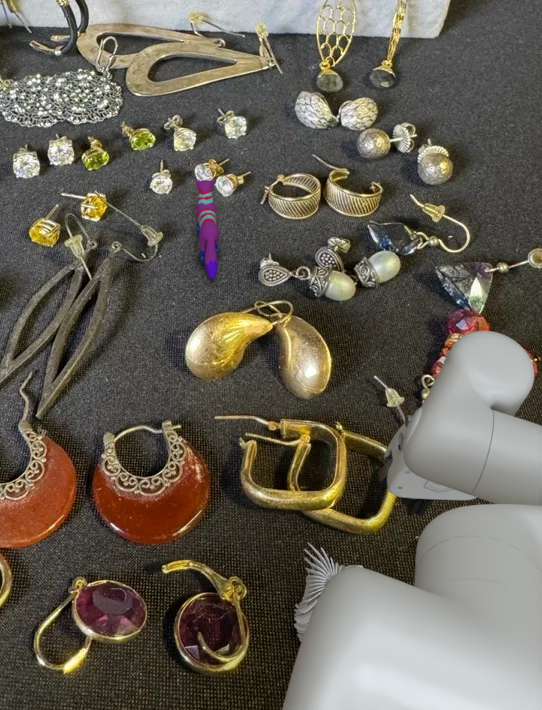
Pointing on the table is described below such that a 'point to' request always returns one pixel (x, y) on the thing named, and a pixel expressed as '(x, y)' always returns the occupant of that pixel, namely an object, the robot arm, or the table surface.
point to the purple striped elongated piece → (207, 226)
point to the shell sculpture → (314, 588)
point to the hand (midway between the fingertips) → (412, 503)
